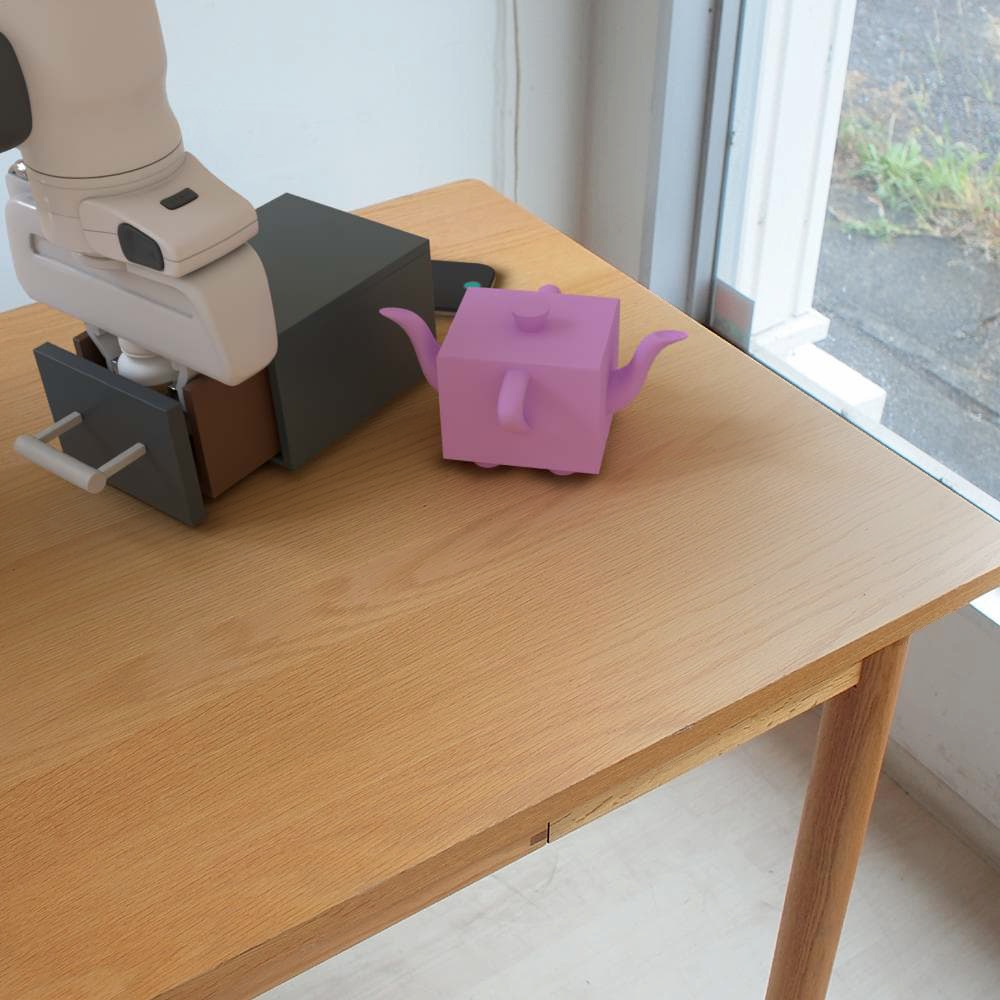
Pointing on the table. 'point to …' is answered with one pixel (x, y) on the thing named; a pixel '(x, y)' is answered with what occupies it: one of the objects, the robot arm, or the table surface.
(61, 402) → the drawer
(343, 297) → the cabinet
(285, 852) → the table surface
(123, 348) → the pill bottle
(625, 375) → the teapot
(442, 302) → the smartphone
